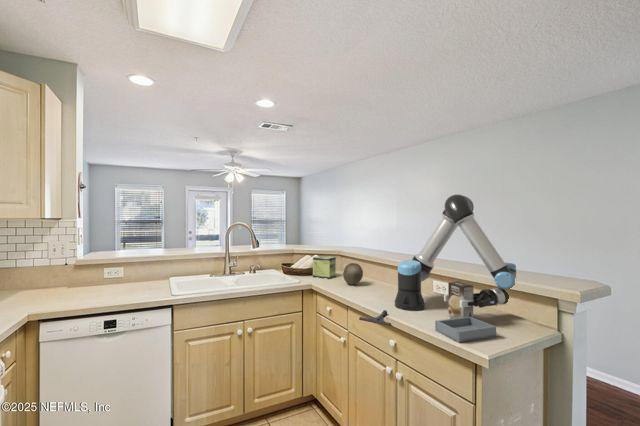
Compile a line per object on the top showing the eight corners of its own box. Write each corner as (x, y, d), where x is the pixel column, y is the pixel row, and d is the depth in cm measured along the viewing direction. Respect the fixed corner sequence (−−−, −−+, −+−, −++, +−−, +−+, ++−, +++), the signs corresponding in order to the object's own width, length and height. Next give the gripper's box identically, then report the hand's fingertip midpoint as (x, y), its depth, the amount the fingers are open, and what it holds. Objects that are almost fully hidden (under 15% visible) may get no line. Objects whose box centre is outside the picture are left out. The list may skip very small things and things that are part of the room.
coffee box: (447, 316, 139) (447, 282, 139) (457, 315, 142) (457, 281, 142) (463, 323, 131) (463, 286, 131) (474, 321, 133) (474, 285, 133)
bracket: (400, 318, 142) (400, 312, 142) (389, 327, 129) (389, 320, 129) (372, 313, 149) (371, 307, 149) (359, 321, 137) (359, 315, 137)
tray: (435, 330, 124) (435, 320, 124) (470, 325, 130) (470, 316, 130) (458, 342, 112) (458, 332, 112) (496, 337, 117) (496, 326, 117)
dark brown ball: (339, 285, 207) (339, 263, 207) (348, 282, 219) (348, 261, 219) (358, 288, 199) (358, 265, 200) (366, 284, 211) (366, 262, 212)
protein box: (329, 279, 229) (329, 258, 229) (312, 277, 237) (312, 257, 237) (336, 277, 238) (336, 257, 238) (319, 275, 246) (319, 256, 246)
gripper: (512, 312, 131) (471, 317, 124) (472, 299, 152) (435, 302, 145) (512, 295, 131) (471, 298, 124) (472, 284, 152) (435, 287, 145)
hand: (452, 300), depth 135 cm, fingers closed on coffee box, 9 cm apart
